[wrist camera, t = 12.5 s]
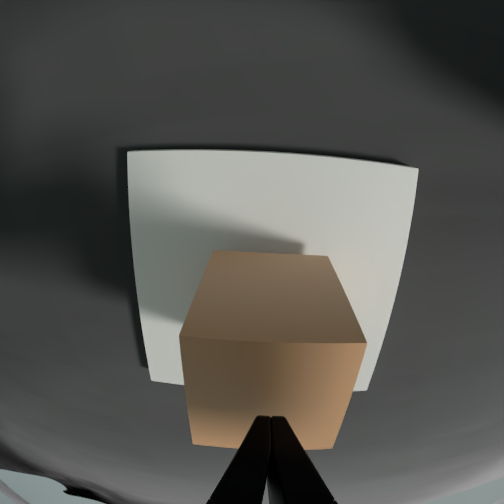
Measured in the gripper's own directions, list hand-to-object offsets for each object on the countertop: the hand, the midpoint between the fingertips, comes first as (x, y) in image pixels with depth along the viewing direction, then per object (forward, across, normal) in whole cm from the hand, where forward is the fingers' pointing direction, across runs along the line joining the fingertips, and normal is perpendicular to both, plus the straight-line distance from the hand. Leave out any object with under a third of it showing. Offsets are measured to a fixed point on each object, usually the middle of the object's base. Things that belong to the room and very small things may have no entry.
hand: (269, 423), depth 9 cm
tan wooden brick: (+7, 0, 0) cm, 7 cm away
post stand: (+9, 0, 0) cm, 9 cm away
